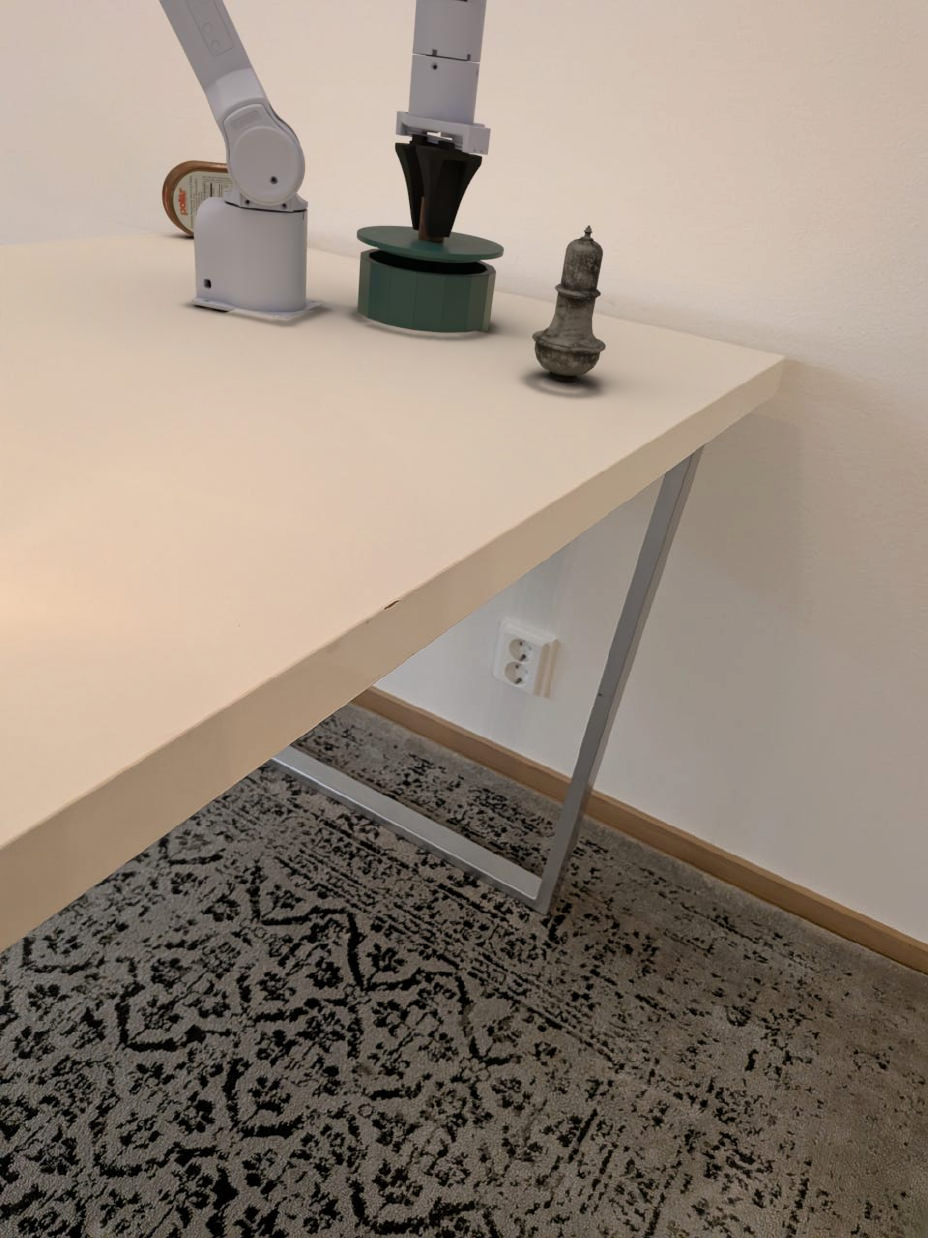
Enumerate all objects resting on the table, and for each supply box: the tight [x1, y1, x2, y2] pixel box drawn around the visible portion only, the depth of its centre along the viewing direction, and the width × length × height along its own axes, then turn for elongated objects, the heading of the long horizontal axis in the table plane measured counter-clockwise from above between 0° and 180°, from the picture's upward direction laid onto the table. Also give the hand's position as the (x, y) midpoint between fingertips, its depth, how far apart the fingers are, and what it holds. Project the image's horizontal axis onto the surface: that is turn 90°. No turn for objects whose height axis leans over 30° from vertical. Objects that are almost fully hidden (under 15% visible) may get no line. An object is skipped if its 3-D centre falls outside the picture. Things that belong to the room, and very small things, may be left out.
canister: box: [357, 248, 497, 334], centre depth 83 cm, size 13×13×5 cm
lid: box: [356, 196, 505, 263], centre depth 80 cm, size 14×14×5 cm
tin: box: [161, 159, 234, 237], centre depth 108 cm, size 15×3×8 cm, turn 119°
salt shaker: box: [531, 225, 607, 383], centre depth 68 cm, size 6×6×12 cm
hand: (430, 233), depth 81 cm, fingers closed on lid, 2 cm apart
